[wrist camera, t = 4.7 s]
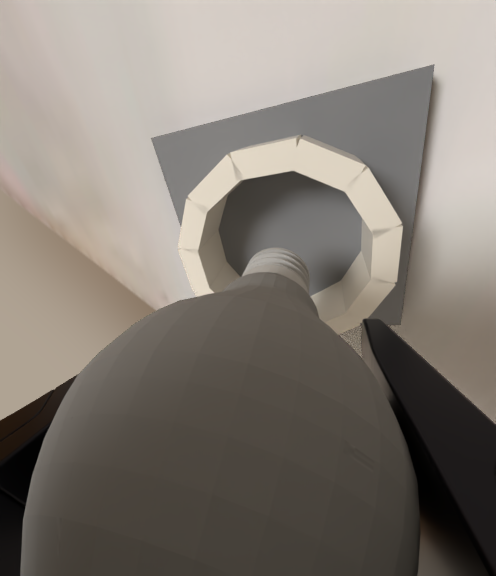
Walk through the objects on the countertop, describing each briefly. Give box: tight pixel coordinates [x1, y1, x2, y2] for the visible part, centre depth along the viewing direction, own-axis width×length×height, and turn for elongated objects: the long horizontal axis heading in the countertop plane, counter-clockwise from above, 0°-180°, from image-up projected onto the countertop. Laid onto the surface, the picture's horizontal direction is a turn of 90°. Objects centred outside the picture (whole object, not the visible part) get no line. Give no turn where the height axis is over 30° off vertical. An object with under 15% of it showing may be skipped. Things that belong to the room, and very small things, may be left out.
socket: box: [151, 65, 434, 335], centre depth 13 cm, size 12×12×4 cm
